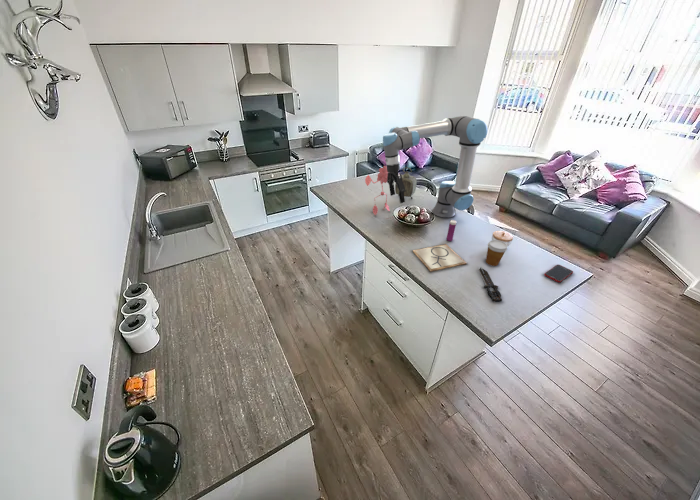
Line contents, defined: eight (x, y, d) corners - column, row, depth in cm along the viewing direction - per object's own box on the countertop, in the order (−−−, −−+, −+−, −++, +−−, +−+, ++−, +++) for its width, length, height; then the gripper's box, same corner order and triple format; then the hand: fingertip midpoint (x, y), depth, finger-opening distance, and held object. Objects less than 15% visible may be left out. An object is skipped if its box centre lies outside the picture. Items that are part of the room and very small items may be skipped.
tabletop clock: (414, 198, 226) (418, 167, 212) (410, 203, 220) (414, 171, 206) (397, 195, 233) (400, 164, 219) (393, 199, 226) (395, 167, 212)
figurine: (362, 214, 205) (363, 165, 185) (391, 206, 215) (395, 159, 195) (373, 223, 194) (375, 172, 174) (404, 215, 204) (409, 165, 184)
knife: (477, 268, 152) (477, 266, 152) (490, 269, 152) (490, 267, 151) (488, 301, 132) (489, 299, 131) (503, 302, 131) (504, 300, 130)
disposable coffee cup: (500, 259, 159) (507, 241, 152) (502, 269, 151) (509, 250, 144) (482, 256, 161) (487, 238, 155) (482, 266, 154) (488, 247, 147)
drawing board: (445, 245, 171) (446, 243, 170) (466, 264, 155) (466, 262, 155) (412, 251, 166) (412, 249, 165) (430, 272, 150) (430, 270, 149)
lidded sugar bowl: (493, 239, 176) (498, 226, 170) (512, 246, 169) (517, 232, 164) (486, 246, 169) (490, 232, 164) (504, 253, 163) (509, 239, 158)
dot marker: (450, 238, 177) (454, 219, 170) (453, 241, 174) (457, 222, 167) (444, 239, 176) (448, 220, 169) (448, 242, 174) (452, 223, 166)
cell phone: (573, 272, 148) (574, 271, 148) (559, 283, 142) (560, 281, 141) (557, 265, 154) (558, 263, 153) (543, 275, 147) (543, 273, 146)
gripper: (378, 160, 168) (383, 193, 179) (396, 171, 147) (400, 208, 158) (390, 156, 169) (394, 190, 180) (409, 166, 148) (413, 204, 159)
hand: (397, 198), depth 169 cm, fingers open, 13 cm apart
